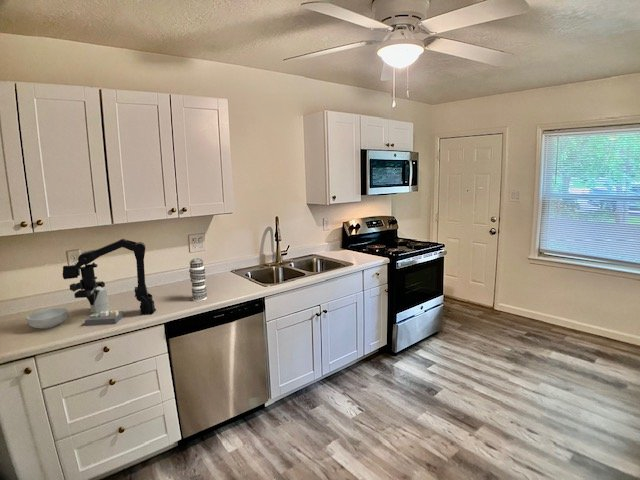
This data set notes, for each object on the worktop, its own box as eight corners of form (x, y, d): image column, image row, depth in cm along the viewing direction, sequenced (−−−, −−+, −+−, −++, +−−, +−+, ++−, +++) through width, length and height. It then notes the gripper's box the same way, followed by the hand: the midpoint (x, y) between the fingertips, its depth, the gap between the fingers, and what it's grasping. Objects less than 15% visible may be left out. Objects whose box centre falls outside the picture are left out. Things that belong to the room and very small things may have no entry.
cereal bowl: (27, 336, 174) (25, 322, 173) (29, 325, 188) (27, 312, 186) (69, 326, 184) (67, 313, 183) (68, 316, 197) (66, 304, 196)
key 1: (99, 318, 191) (98, 313, 190) (96, 320, 188) (95, 315, 187) (93, 318, 190) (92, 313, 190) (90, 320, 188) (89, 315, 187)
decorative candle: (189, 301, 215) (185, 261, 210) (194, 296, 224) (190, 257, 219) (205, 301, 215) (201, 260, 211) (209, 295, 224) (205, 257, 220)
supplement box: (104, 307, 209) (101, 287, 207) (110, 310, 205) (106, 289, 202) (90, 311, 204) (87, 290, 201) (95, 314, 199) (92, 293, 197)
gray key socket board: (124, 316, 195) (123, 311, 195) (115, 323, 186) (115, 318, 185) (95, 318, 194) (94, 312, 193) (85, 325, 184) (84, 320, 184)
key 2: (118, 314, 191) (118, 309, 191) (116, 316, 188) (115, 311, 188) (113, 315, 191) (112, 310, 191) (110, 317, 188) (109, 312, 188)
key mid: (109, 315, 191) (108, 310, 190) (106, 317, 188) (105, 312, 188) (103, 315, 191) (102, 310, 190) (100, 317, 188) (99, 312, 187)
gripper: (81, 272, 193) (86, 299, 196) (60, 282, 175) (65, 312, 178) (103, 271, 194) (107, 298, 197) (84, 281, 176) (89, 311, 179)
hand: (92, 304), depth 188 cm, fingers closed
